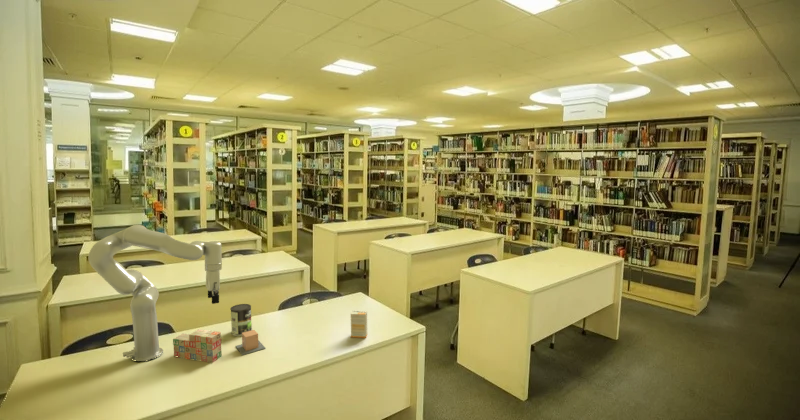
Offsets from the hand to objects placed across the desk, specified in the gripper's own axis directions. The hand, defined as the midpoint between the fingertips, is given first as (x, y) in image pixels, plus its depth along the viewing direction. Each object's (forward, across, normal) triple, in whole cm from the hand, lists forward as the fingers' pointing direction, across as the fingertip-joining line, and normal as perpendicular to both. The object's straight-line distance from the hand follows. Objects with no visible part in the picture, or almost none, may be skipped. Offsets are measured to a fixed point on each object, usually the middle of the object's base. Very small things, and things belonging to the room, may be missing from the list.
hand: (213, 300), depth 189 cm
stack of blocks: (+24, +8, -8) cm, 27 cm away
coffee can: (+23, -8, +16) cm, 29 cm away
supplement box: (+21, +33, +65) cm, 76 cm away
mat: (+23, +14, +14) cm, 30 cm away
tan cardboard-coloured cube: (+22, +14, +14) cm, 30 cm away
